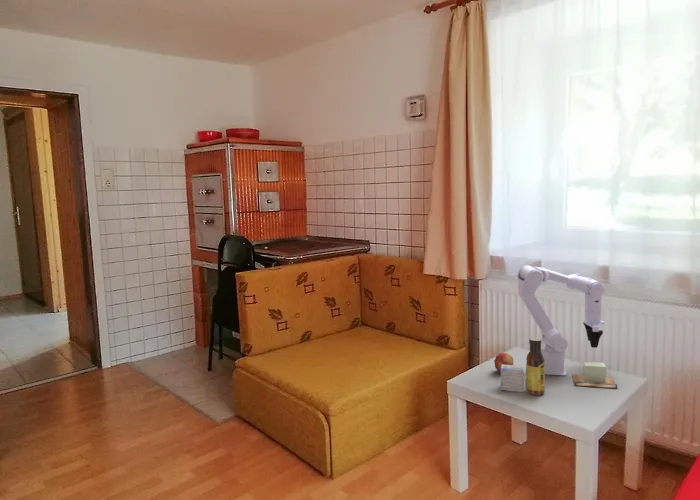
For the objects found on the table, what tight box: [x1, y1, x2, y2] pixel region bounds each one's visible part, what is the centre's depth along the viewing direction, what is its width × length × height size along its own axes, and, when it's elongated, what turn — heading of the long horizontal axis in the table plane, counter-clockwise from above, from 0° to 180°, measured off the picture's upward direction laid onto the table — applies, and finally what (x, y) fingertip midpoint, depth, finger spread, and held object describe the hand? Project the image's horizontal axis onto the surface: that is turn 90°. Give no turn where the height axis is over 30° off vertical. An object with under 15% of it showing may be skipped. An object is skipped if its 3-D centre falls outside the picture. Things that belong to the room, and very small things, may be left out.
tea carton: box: [582, 361, 607, 383], centre depth 188 cm, size 4×7×6 cm, turn 72°
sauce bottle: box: [525, 337, 546, 396], centre depth 180 cm, size 7×6×20 cm
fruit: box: [493, 352, 515, 373], centre depth 199 cm, size 8×8×8 cm
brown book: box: [571, 374, 618, 390], centre depth 187 cm, size 14×9×2 cm, turn 72°
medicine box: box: [500, 364, 524, 393], centre depth 184 cm, size 8×4×9 cm, turn 71°
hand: (592, 343), depth 198 cm, fingers open, 7 cm apart
